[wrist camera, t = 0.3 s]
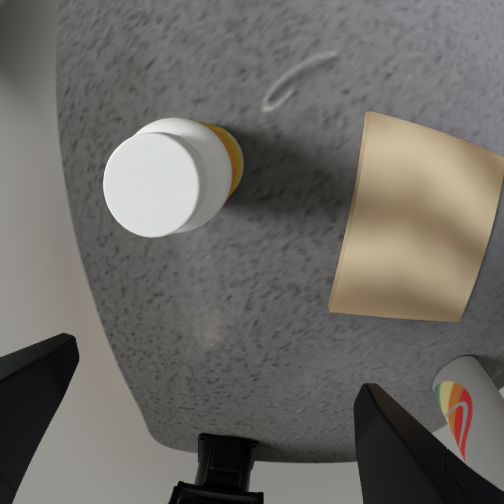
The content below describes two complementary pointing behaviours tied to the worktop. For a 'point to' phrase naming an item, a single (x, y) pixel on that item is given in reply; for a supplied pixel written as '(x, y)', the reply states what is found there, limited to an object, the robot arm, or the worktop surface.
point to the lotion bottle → (473, 416)
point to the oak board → (415, 223)
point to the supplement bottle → (172, 176)
